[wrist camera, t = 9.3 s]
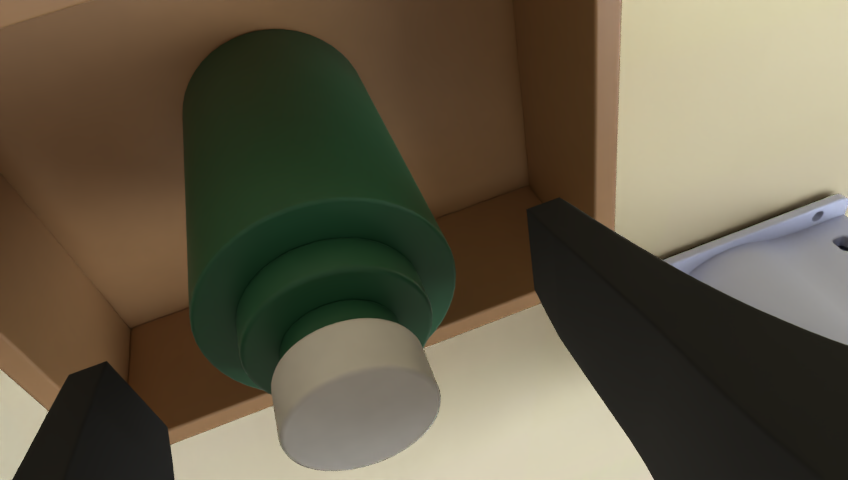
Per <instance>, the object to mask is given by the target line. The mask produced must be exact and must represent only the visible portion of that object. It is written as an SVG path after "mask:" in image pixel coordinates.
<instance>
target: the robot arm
mask: <svg viewBox="0 0 848 480" xmlns="http://www.w3.org/2000/svg"><path fill="white" fill-rule="evenodd" d="M847 206H848V199H847V198H846V197H845V196H843V195H842V194H835V195H832V196H829V197H826V198H824V199H821V200H819V201H816V202H813V203H811V204H808V205H805V206H803V207H800V208H798V209H795V210H792V211H790V212H787V213H785V214H782V215H779V216H777V217H774V218H771V219H769V220H766V221H764V222H761V223H758V224H756V225H753V226H750V227H748V228H745V229H743V230H740V231H737V232H735V233H732V234H730V235H727V236H724V237H722V238H719V239H716V240H714V241H711V242H709V243H706V244H703V245H701V246H698V247H695V248H693V249H690V250H688V251H685V252H682V253H680V254H677V255H675V256H672V257H669V258H667V259H664V260H661V259H660V258H658V257H656V256H654V255H653V254H651V253H649V252H647V251H646V250H644V249H642V248H640V247H639V246H637V245H635V244H634V243H632V242H630V241H629V240H627V239H626V238H624V237H622V236H621V235H619V234H617V233H616V232H614V231H613V230H611V229H609V228H608V227H606V226H605V225H603V224H601V223H600V222H598V221H597V220H595V219H594V218H592V217H590V216H589V215H587V214H586V213H584V212H583V211H581V210H579V209H578V208H576V207H575V206H573V205H572V204H570V203H568V202H567V201H565V200H563V199H562V198H560V197H559V198H556V199H553V200H550V201H548V202H545V203H542V204H539V205H537V206H534V207H531V208H528V209H526V211H527V221H528V231H529V241H530V251H531V261H532V271H533V281H534V290H535V292H536V294H537V296H538V297H539V299H540V301H541V303H542V305H543V307H544V309H545V311H546V313H547V315H548V317H549V319H550V321H551V323H552V324H553V326H554V328H555V330H556V332H557V334H558V336H559V337H560V339H561V340H562V342H563V343H564V345H565V346H566V348H567V349H568V351H569V352H570V354H571V355H572V357H573V358H574V359H575V361H576V362H577V364H578V365H579V367H580V368H581V370H582V371H583V373H584V374H585V376H586V377H587V378H588V380H589V381H590V383H591V384H592V386H593V387H594V389H595V390H596V391H597V393H598V394H599V396H600V397H601V399H602V400H603V401H604V403H605V404H606V406H607V407H608V409H609V410H610V412H611V413H612V414H613V416H614V417H615V419H616V420H617V422H618V423H619V425H620V426H621V427H622V429H623V430H624V432H625V433H626V435H627V436H628V438H629V439H630V441H631V442H632V444H633V445H634V447H635V448H636V450H637V452H638V453H639V455H640V456H641V458H642V459H643V461H644V463H645V464H646V466H647V468H648V470H649V471H650V473H651V475H652V477H653V479H654V480H848V217H847V216H845V215H844V214H845V211H846V208H847ZM12 480H174V472H173V462H172V454H171V447H170V440H169V433H168V427H167V426H166V425H165V424H164V423H163V421H162V420H161V419H160V418H159V417H158V416H157V415H156V414H155V413H154V412H153V411H152V409H151V408H150V407H149V406H148V405H147V404H146V403H145V402H144V401H143V400H142V399H141V397H140V396H139V395H138V394H137V393H136V392H135V391H134V390H133V389H132V388H131V387H130V386H129V384H128V383H127V382H126V381H125V380H124V379H123V378H122V377H121V376H120V375H119V374H118V372H117V371H116V370H115V369H114V368H113V367H112V366H111V365H110V364H109V363H108V362H107V361H105V362H103V363H100V364H97V365H94V366H91V367H89V368H86V369H83V370H80V371H78V372H75V373H72V374H69V375H68V377H67V379H66V381H65V382H64V384H63V386H62V388H61V389H60V391H59V393H58V395H57V397H56V399H55V400H54V402H53V404H52V406H51V408H50V410H49V412H48V414H47V416H46V417H45V419H44V421H43V423H42V425H41V427H40V429H39V431H38V433H37V435H36V436H35V438H34V440H33V442H32V444H31V446H30V448H29V450H28V452H27V453H26V455H25V457H24V459H23V461H22V463H21V465H20V466H19V468H18V470H17V472H16V474H15V476H14V477H13V479H12Z"/></svg>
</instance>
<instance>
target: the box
mask: <svg viewBox="0 0 848 480" xmlns="http://www.w3.org/2000/svg"><path fill="white" fill-rule="evenodd" d="M621 8H622V0H0V369H1V370H2V371H3V372H5V373H6V374H7V375H8V376H9V377H10V378H11V379H13V380H14V381H15V382H16V383H17V384H18V385H19V386H21V387H22V388H23V389H24V390H25V391H26V392H27V393H28V394H30V395H31V396H32V397H33V398H34V399H35V400H36V401H38V402H39V403H40V404H41V405H42V406H43V407H44V408H46V409H47V410H48V411H49V410H50V408H51V406H52V404H53V402H54V400H55V399H56V397H57V395H58V393H59V391H60V389H61V388H62V386H63V384H64V382H65V381H66V379H67V377H68V375H69V374H72V373H75V372H78V371H80V370H83V369H86V368H89V367H91V366H94V365H97V364H100V363H103V362H105V361H107V362H108V363H109V364H110V365H111V366H112V367H113V368H114V369H115V370H116V371H117V372H118V374H119V375H120V376H121V377H122V378H123V379H124V380H125V381H126V382H127V383H128V384H129V386H130V387H131V388H132V389H133V390H134V391H135V392H136V393H137V394H138V395H139V396H140V397H141V399H142V400H143V401H144V402H145V403H146V404H147V405H148V406H149V407H150V408H151V409H152V411H153V412H154V413H155V414H156V415H157V416H158V417H159V418H160V419H161V420H162V421H163V423H164V424H165V425H166V426H167V427H168V433H169V440H170V445H171V444H174V443H176V442H179V441H181V440H184V439H187V438H189V437H192V436H194V435H197V434H200V433H202V432H205V431H208V430H210V429H213V428H215V427H218V426H221V425H223V424H226V423H229V422H231V421H234V420H236V419H239V418H242V417H244V416H247V415H250V414H252V413H255V412H257V411H260V410H263V409H265V408H268V407H271V406H273V399H272V395H271V394H268V393H267V392H265V391H264V390H260V389H257V388H253V387H250V386H247V385H244V384H242V383H240V382H237V381H235V380H233V379H231V378H230V377H228V376H226V375H225V374H223V373H222V372H220V371H219V370H218V369H217V368H216V367H214V366H213V365H212V364H211V363H210V362H209V361H208V359H207V358H206V357H205V356H204V355H203V353H202V352H201V350H200V349H199V347H198V345H197V344H196V342H195V339H194V336H193V334H192V331H191V325H190V319H189V295H188V266H187V236H186V206H185V177H184V147H183V118H182V114H183V101H184V95H185V92H186V89H187V86H188V83H189V81H190V79H191V77H192V75H193V73H194V72H195V70H196V69H197V68H198V66H199V65H200V64H201V62H202V61H203V60H204V59H205V58H206V57H207V56H208V55H209V54H210V53H211V52H213V51H214V50H215V49H217V48H218V47H219V46H221V45H222V44H224V43H226V42H228V41H229V40H231V39H233V38H236V37H238V36H241V35H243V34H246V33H250V32H254V31H259V30H268V29H285V30H292V31H298V32H302V33H306V34H309V35H312V36H314V37H317V38H319V39H321V40H323V41H325V42H326V43H328V44H330V45H332V46H333V47H334V48H336V49H337V50H338V51H339V52H341V53H342V54H343V55H344V56H345V57H346V58H347V59H348V60H349V61H350V63H351V64H352V66H353V67H354V68H355V70H356V71H357V73H358V75H359V77H360V79H361V81H362V82H363V84H364V86H365V88H366V90H367V92H368V94H369V96H370V97H371V99H372V101H373V103H374V105H375V107H376V109H377V111H378V113H379V114H380V116H381V118H382V120H383V122H384V124H385V126H386V128H387V130H388V131H389V133H390V135H391V137H392V139H393V141H394V143H395V145H396V147H397V148H398V150H399V152H400V154H401V156H402V158H403V160H404V162H405V163H406V165H407V167H408V169H409V171H410V173H411V175H412V177H413V179H414V180H415V182H416V184H417V186H418V188H419V190H420V192H421V194H422V196H423V197H424V199H425V201H426V203H427V205H428V207H429V209H430V211H431V212H432V214H433V216H434V218H435V220H436V222H437V224H438V226H439V228H440V229H441V231H442V233H443V235H444V237H445V239H446V241H447V243H448V245H449V246H450V248H451V251H452V254H453V257H454V261H455V269H456V282H455V290H454V294H453V299H452V301H451V304H450V307H449V309H448V311H447V313H446V315H445V317H444V319H443V321H442V322H441V324H440V325H439V326H438V328H437V329H436V331H435V332H434V333H433V334H432V335H431V337H430V338H429V339H428V340H427V342H426V344H425V346H424V348H425V347H428V346H431V345H433V344H436V343H438V342H441V341H444V340H446V339H449V338H452V337H454V336H457V335H459V334H462V333H465V332H467V331H470V330H473V329H475V328H478V327H480V326H483V325H486V324H488V323H491V322H493V321H496V320H499V319H501V318H504V317H507V316H509V315H512V314H514V313H517V312H520V311H522V310H525V309H528V308H530V307H533V306H535V305H538V304H541V301H540V299H539V297H538V296H537V294H536V292H535V290H534V281H533V271H532V261H531V251H530V241H529V231H528V221H527V211H526V209H528V208H531V207H534V206H537V205H539V204H542V203H545V202H548V201H550V200H553V199H556V198H559V197H560V198H562V199H563V200H565V201H567V202H568V203H570V204H572V205H573V206H575V207H576V208H578V209H579V210H581V211H583V212H584V213H586V214H587V215H589V216H590V217H592V218H594V219H595V220H597V221H598V222H600V223H601V224H603V225H605V226H606V227H608V228H609V229H611V230H613V231H614V229H615V198H616V166H617V134H618V103H619V71H620V40H621Z"/></svg>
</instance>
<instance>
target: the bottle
mask: <svg viewBox="0 0 848 480" xmlns="http://www.w3.org/2000/svg"><path fill="white" fill-rule="evenodd" d="M182 118H183V147H184V177H185V206H186V236H187V266H188V295H189V319H190V325H191V331H192V334H193V336H194V339H195V342H196V344H197V345H198V347H199V349H200V350H201V352H202V353H203V355H204V356H205V357H206V358H207V359H208V361H209V362H210V363H211V364H212V365H213V366H214V367H216V368H217V369H218V370H219V371H220V372H222V373H223V374H225V375H226V376H228V377H230V378H231V379H233V380H235V381H237V382H240V383H242V384H244V385H247V386H250V387H253V388H257V389H260V390H264V391H265V392H267V393H268V394H271V395H272V399H273V406H274V412H275V419H276V426H277V432H278V439H279V442H280V445H281V447H282V449H283V451H284V452H285V453H286V454H287V456H288V457H289V458H290V459H292V460H293V461H294V462H296V463H298V464H300V465H302V466H304V467H307V468H311V469H315V470H323V471H343V470H351V469H356V468H361V467H365V466H369V465H372V464H375V463H378V462H381V461H383V460H386V459H388V458H390V457H392V456H394V455H396V454H398V453H400V452H401V451H403V450H405V449H406V448H408V447H409V446H411V445H412V444H413V443H415V442H416V441H417V440H418V439H419V438H421V437H422V436H423V435H424V434H425V433H426V432H427V430H428V429H429V428H430V427H431V425H432V424H433V422H434V421H435V419H436V417H437V414H438V412H439V408H440V397H441V395H440V390H439V387H438V385H437V382H436V380H435V377H434V375H433V372H432V370H431V367H430V365H429V362H428V360H427V357H426V355H425V352H424V350H423V348H424V346H425V344H426V342H427V340H428V339H429V338H430V337H431V335H432V334H433V333H434V332H435V331H436V329H437V328H438V326H439V325H440V324H441V322H442V321H443V319H444V317H445V315H446V313H447V311H448V309H449V307H450V304H451V301H452V299H453V294H454V290H455V282H456V269H455V261H454V257H453V254H452V251H451V248H450V246H449V245H448V243H447V241H446V239H445V237H444V235H443V233H442V231H441V229H440V228H439V226H438V224H437V222H436V220H435V218H434V216H433V214H432V212H431V211H430V209H429V207H428V205H427V203H426V201H425V199H424V197H423V196H422V194H421V192H420V190H419V188H418V186H417V184H416V182H415V180H414V179H413V177H412V175H411V173H410V171H409V169H408V167H407V165H406V163H405V162H404V160H403V158H402V156H401V154H400V152H399V150H398V148H397V147H396V145H395V143H394V141H393V139H392V137H391V135H390V133H389V131H388V130H387V128H386V126H385V124H384V122H383V120H382V118H381V116H380V114H379V113H378V111H377V109H376V107H375V105H374V103H373V101H372V99H371V97H370V96H369V94H368V92H367V90H366V88H365V86H364V84H363V82H362V81H361V79H360V77H359V75H358V73H357V71H356V70H355V68H354V67H353V66H352V64H351V63H350V61H349V60H348V59H347V58H346V57H345V56H344V55H343V54H342V53H341V52H339V51H338V50H337V49H336V48H334V47H333V46H332V45H330V44H328V43H326V42H325V41H323V40H321V39H319V38H317V37H314V36H312V35H309V34H306V33H302V32H298V31H292V30H285V29H268V30H259V31H254V32H250V33H246V34H243V35H241V36H238V37H236V38H233V39H231V40H229V41H228V42H226V43H224V44H222V45H221V46H219V47H218V48H217V49H215V50H214V51H213V52H211V53H210V54H209V55H208V56H207V57H206V58H205V59H204V60H203V61H202V62H201V64H200V65H199V66H198V68H197V69H196V70H195V72H194V73H193V75H192V77H191V79H190V81H189V83H188V86H187V89H186V92H185V95H184V101H183V114H182Z"/></svg>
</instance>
